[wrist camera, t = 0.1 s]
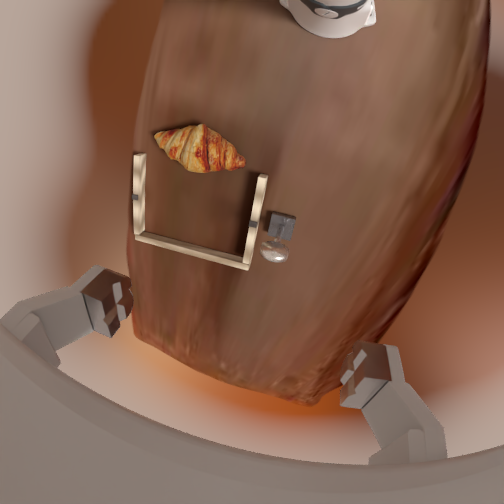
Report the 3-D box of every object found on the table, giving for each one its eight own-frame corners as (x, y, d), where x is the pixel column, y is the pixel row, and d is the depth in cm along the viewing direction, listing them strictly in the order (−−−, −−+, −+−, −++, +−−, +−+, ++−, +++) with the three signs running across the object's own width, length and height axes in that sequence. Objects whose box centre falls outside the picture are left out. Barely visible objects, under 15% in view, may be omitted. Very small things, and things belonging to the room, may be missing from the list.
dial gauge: (273, 211, 58) (261, 241, 45) (296, 217, 57) (290, 249, 45) (268, 232, 60) (255, 266, 48) (290, 237, 60) (283, 274, 47)
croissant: (164, 145, 59) (145, 166, 54) (161, 109, 50) (139, 129, 46) (248, 170, 57) (235, 194, 53) (255, 133, 49) (240, 156, 45)
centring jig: (140, 152, 57) (132, 155, 54) (268, 175, 54) (265, 179, 51) (140, 235, 68) (133, 241, 65) (250, 264, 65) (247, 272, 62)
